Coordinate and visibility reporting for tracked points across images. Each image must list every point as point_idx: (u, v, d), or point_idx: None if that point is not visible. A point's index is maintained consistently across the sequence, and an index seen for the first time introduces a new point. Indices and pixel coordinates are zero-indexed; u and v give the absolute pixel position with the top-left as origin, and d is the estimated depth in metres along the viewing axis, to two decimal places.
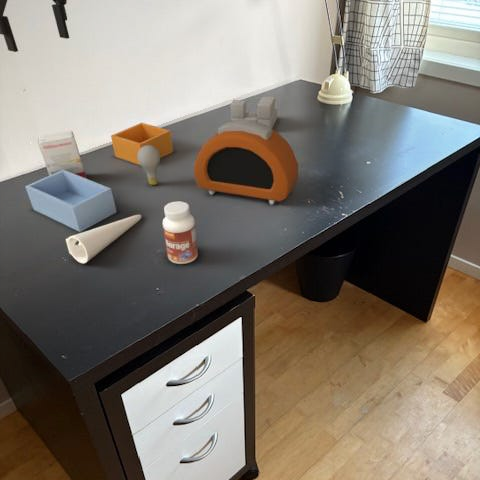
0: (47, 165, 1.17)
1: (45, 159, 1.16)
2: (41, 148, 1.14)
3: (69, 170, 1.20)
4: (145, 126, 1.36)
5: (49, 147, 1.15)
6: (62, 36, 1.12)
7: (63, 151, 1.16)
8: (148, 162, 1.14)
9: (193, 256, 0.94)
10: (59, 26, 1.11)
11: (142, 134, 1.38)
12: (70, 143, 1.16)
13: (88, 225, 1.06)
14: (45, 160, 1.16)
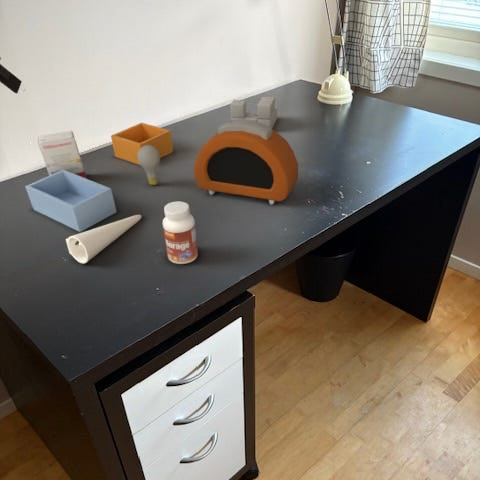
0: (47, 165, 1.17)
1: (45, 159, 1.16)
2: (41, 148, 1.14)
3: (69, 170, 1.20)
4: (145, 126, 1.36)
5: (49, 147, 1.15)
6: None
7: (63, 151, 1.16)
8: (148, 162, 1.14)
9: (193, 256, 0.94)
10: None
11: (142, 134, 1.38)
12: (70, 143, 1.16)
13: (88, 225, 1.06)
14: (45, 160, 1.16)
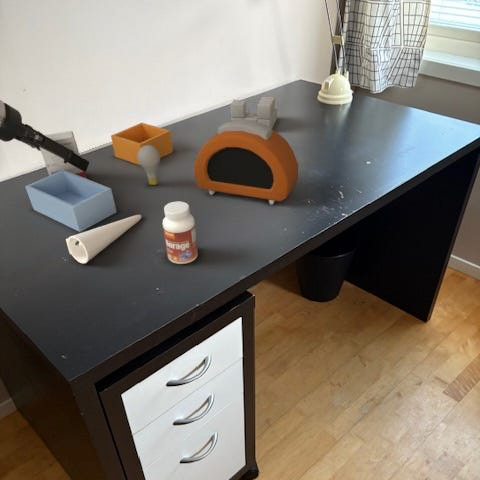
0: (47, 165, 1.17)
1: (45, 159, 1.16)
2: (41, 148, 1.14)
3: (69, 170, 1.20)
4: (145, 126, 1.36)
5: None
6: None
7: None
8: (148, 162, 1.14)
9: (193, 256, 0.94)
10: None
11: (142, 134, 1.38)
12: (70, 143, 1.16)
13: (88, 225, 1.06)
14: (45, 160, 1.16)
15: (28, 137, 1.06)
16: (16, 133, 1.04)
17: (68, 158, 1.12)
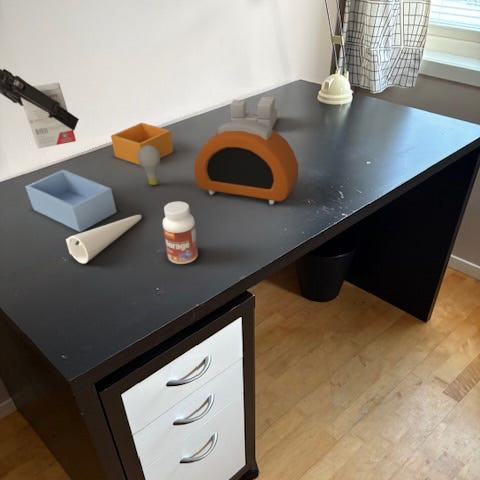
0: (30, 121, 1.03)
1: (28, 114, 1.02)
2: (23, 100, 1.00)
3: (55, 128, 1.06)
4: (145, 126, 1.36)
5: None
6: None
7: None
8: (148, 162, 1.14)
9: (193, 256, 0.94)
10: None
11: (142, 134, 1.38)
12: (56, 95, 1.02)
13: (88, 225, 1.06)
14: (28, 115, 1.02)
15: (6, 83, 0.92)
16: None
17: (53, 111, 0.98)
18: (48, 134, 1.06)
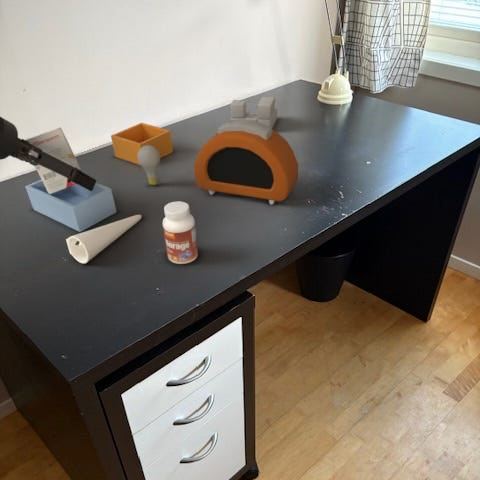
0: (37, 167, 1.02)
1: None
2: None
3: None
4: (145, 126, 1.36)
5: (35, 144, 1.00)
6: None
7: (52, 147, 1.02)
8: (148, 162, 1.14)
9: (193, 256, 0.94)
10: None
11: (142, 134, 1.38)
12: (58, 136, 1.01)
13: (88, 225, 1.06)
14: None
15: (25, 154, 0.93)
16: (11, 150, 0.91)
17: (71, 177, 0.96)
18: (57, 178, 1.04)
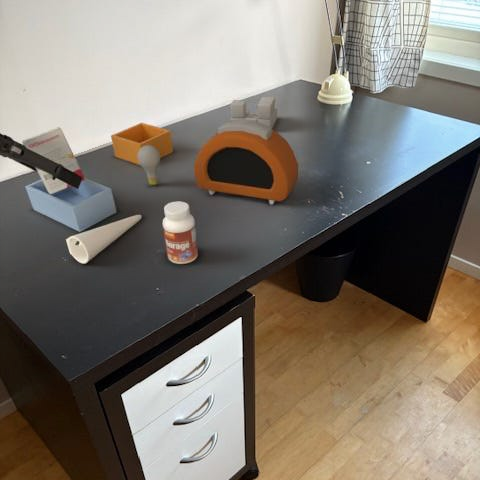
0: None
1: None
2: None
3: None
4: (145, 126, 1.36)
5: (35, 145, 1.00)
6: None
7: (52, 147, 1.02)
8: (148, 162, 1.14)
9: (193, 256, 0.94)
10: None
11: (142, 134, 1.38)
12: (58, 136, 1.01)
13: (88, 225, 1.06)
14: None
15: (7, 150, 0.90)
16: None
17: (56, 174, 0.93)
18: None
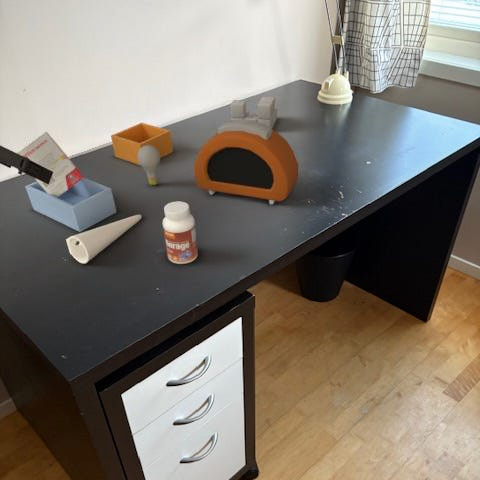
0: None
1: None
2: None
3: (59, 172, 1.05)
4: (145, 126, 1.36)
5: (27, 155, 1.01)
6: None
7: (43, 153, 1.02)
8: (148, 162, 1.14)
9: (193, 256, 0.94)
10: None
11: (142, 134, 1.38)
12: (46, 141, 1.01)
13: (88, 225, 1.06)
14: None
15: None
16: None
17: (22, 168, 0.87)
18: (56, 182, 1.05)
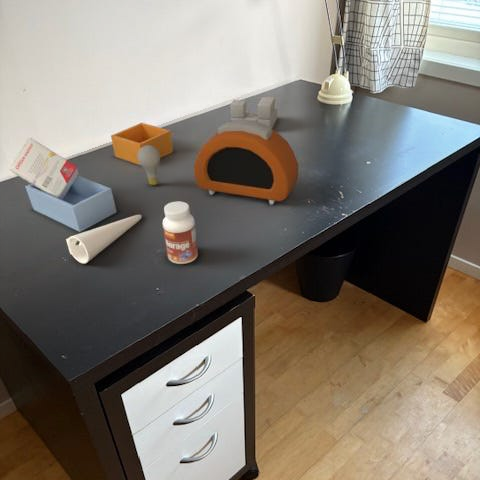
0: (33, 182, 1.05)
1: (27, 178, 1.05)
2: (15, 171, 1.04)
3: (54, 170, 1.06)
4: (145, 126, 1.36)
5: (20, 164, 1.04)
6: None
7: (33, 157, 1.05)
8: (148, 162, 1.14)
9: (193, 256, 0.94)
10: None
11: (142, 134, 1.38)
12: (31, 145, 1.05)
13: (88, 225, 1.06)
14: (28, 179, 1.05)
15: None
16: None
17: None
18: (54, 180, 1.06)
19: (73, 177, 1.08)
